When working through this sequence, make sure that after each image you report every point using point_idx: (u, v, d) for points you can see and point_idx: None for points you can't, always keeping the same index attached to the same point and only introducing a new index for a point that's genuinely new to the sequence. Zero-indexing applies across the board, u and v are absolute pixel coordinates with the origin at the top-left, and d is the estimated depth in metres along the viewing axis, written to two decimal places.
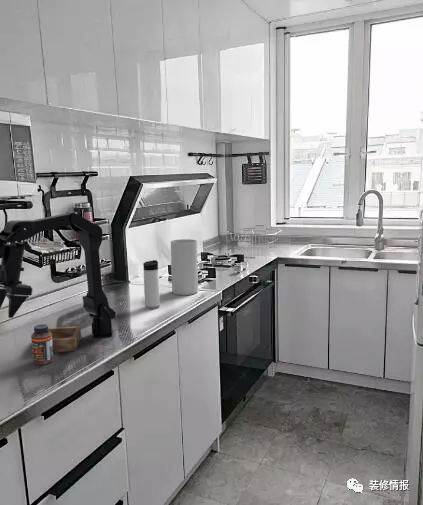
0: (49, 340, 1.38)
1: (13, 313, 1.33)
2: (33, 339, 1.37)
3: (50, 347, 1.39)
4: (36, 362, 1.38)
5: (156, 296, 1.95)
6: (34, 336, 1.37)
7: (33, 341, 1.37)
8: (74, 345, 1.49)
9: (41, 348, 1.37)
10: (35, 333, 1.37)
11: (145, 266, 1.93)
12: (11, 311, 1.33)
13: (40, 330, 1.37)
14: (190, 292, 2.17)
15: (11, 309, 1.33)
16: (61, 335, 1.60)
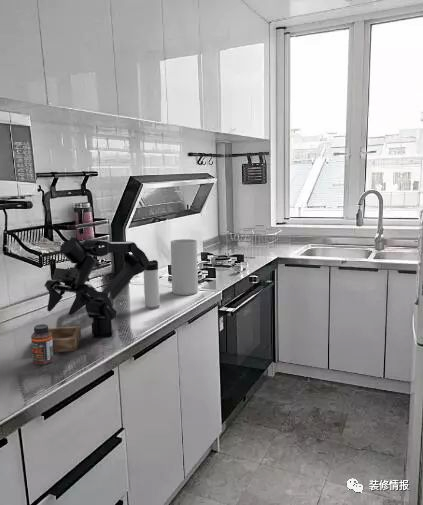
0: (49, 340, 1.38)
1: (73, 311, 1.44)
2: (33, 339, 1.37)
3: (50, 347, 1.39)
4: (36, 362, 1.38)
5: (156, 296, 1.95)
6: (34, 336, 1.37)
7: (33, 341, 1.37)
8: (74, 345, 1.49)
9: (41, 348, 1.37)
10: (35, 333, 1.37)
11: None
12: (73, 308, 1.43)
13: (40, 330, 1.37)
14: (190, 292, 2.17)
15: (74, 306, 1.44)
16: (61, 335, 1.60)
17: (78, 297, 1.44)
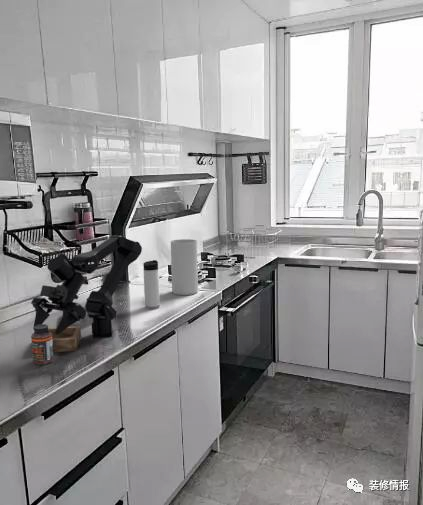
0: (49, 340, 1.38)
1: (60, 330, 1.39)
2: (33, 339, 1.37)
3: (50, 347, 1.39)
4: (36, 362, 1.38)
5: (156, 296, 1.95)
6: (34, 336, 1.37)
7: (33, 341, 1.37)
8: (74, 345, 1.49)
9: (41, 348, 1.37)
10: (35, 333, 1.37)
11: (145, 266, 1.93)
12: (60, 327, 1.39)
13: (40, 330, 1.37)
14: (190, 292, 2.17)
15: (61, 325, 1.39)
16: (61, 335, 1.60)
17: (65, 316, 1.39)
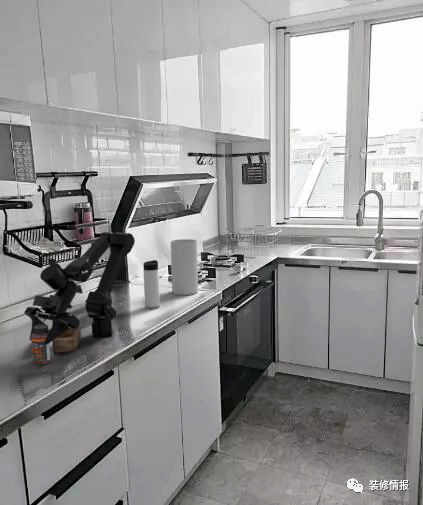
0: None
1: (50, 340, 1.38)
2: (33, 339, 1.37)
3: (50, 347, 1.39)
4: (36, 362, 1.38)
5: (156, 296, 1.95)
6: (34, 335, 1.37)
7: (33, 341, 1.37)
8: (74, 345, 1.49)
9: (41, 348, 1.37)
10: (35, 333, 1.37)
11: (145, 266, 1.93)
12: (50, 337, 1.37)
13: (40, 330, 1.37)
14: (190, 292, 2.17)
15: (51, 335, 1.38)
16: (61, 335, 1.60)
17: (55, 326, 1.38)
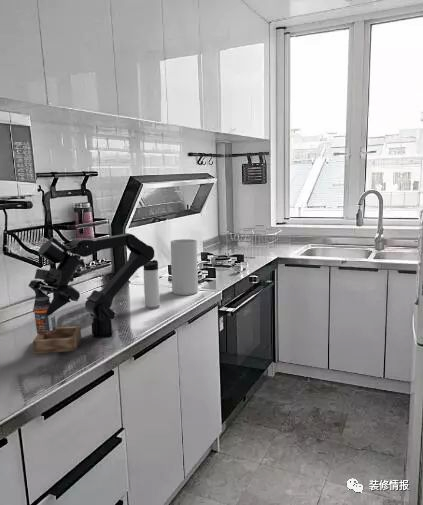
0: None
1: (51, 312, 1.44)
2: (35, 311, 1.43)
3: (52, 318, 1.45)
4: (39, 333, 1.44)
5: (156, 296, 1.95)
6: (36, 307, 1.43)
7: (35, 313, 1.43)
8: (74, 345, 1.49)
9: (43, 319, 1.43)
10: (37, 305, 1.44)
11: (145, 266, 1.93)
12: (51, 309, 1.43)
13: (41, 302, 1.43)
14: (190, 292, 2.17)
15: (52, 307, 1.43)
16: (61, 335, 1.60)
17: (55, 298, 1.43)
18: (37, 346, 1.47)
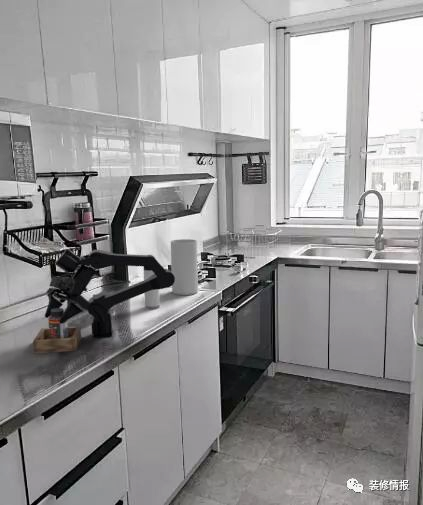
0: (62, 323, 1.51)
1: (64, 320, 1.50)
2: (49, 321, 1.51)
3: (64, 329, 1.52)
4: None
5: (156, 296, 1.95)
6: (50, 318, 1.51)
7: (49, 322, 1.51)
8: (74, 345, 1.49)
9: (55, 329, 1.51)
10: (51, 315, 1.51)
11: (145, 266, 1.93)
12: (64, 317, 1.49)
13: (55, 313, 1.51)
14: (190, 292, 2.17)
15: (65, 315, 1.49)
16: None
17: (69, 306, 1.49)
18: (37, 346, 1.47)
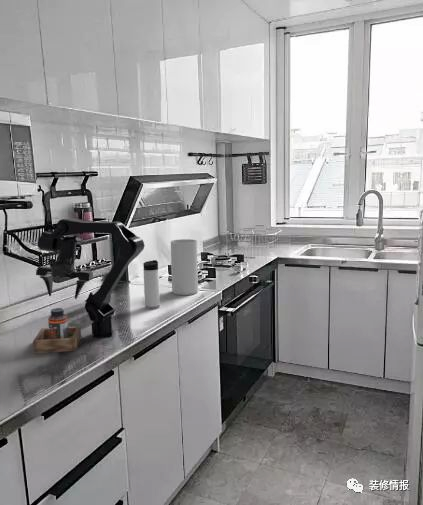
0: (62, 323, 1.51)
1: None
2: (49, 321, 1.51)
3: (64, 329, 1.52)
4: None
5: (156, 296, 1.95)
6: (50, 318, 1.51)
7: (49, 322, 1.51)
8: (74, 345, 1.49)
9: (55, 329, 1.51)
10: (51, 315, 1.51)
11: (145, 266, 1.93)
12: (78, 293, 1.63)
13: (55, 313, 1.51)
14: (190, 292, 2.17)
15: (78, 291, 1.63)
16: None
17: (80, 285, 1.62)
18: (37, 346, 1.47)
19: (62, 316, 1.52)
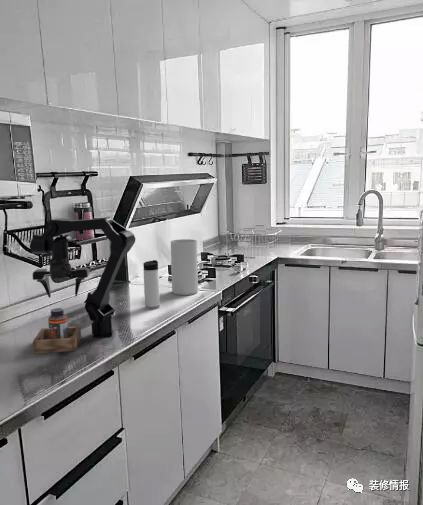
0: (62, 323, 1.51)
1: (77, 292, 1.67)
2: (49, 321, 1.51)
3: (64, 329, 1.52)
4: None
5: (156, 296, 1.95)
6: (50, 318, 1.51)
7: (49, 322, 1.51)
8: (74, 345, 1.49)
9: (55, 329, 1.51)
10: (51, 315, 1.51)
11: (145, 266, 1.93)
12: (77, 291, 1.66)
13: (55, 313, 1.51)
14: (190, 292, 2.17)
15: (77, 289, 1.66)
16: None
17: (79, 282, 1.65)
18: (37, 346, 1.47)
19: (62, 316, 1.52)
